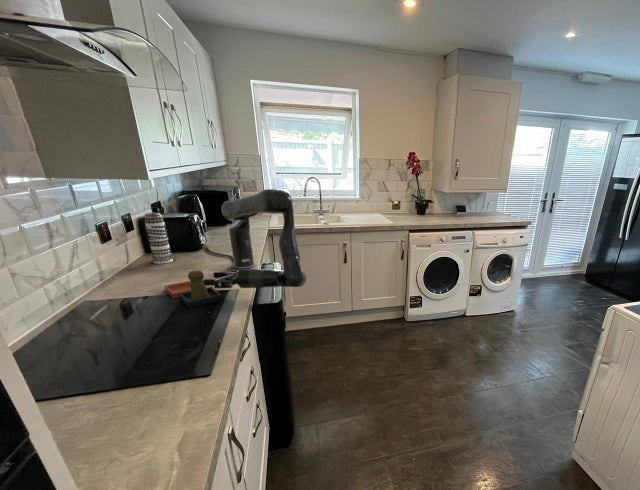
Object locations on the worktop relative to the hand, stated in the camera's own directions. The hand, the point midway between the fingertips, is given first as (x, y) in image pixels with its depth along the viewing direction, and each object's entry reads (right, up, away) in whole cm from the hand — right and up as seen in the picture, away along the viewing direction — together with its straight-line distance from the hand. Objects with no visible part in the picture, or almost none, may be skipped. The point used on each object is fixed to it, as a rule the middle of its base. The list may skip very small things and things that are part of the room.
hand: (209, 278), depth 124 cm
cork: (-5, -8, +2) cm, 9 cm away
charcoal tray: (-5, -8, +3) cm, 10 cm away
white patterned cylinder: (-51, +10, +45) cm, 68 cm away
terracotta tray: (-15, -5, +9) cm, 19 cm away
